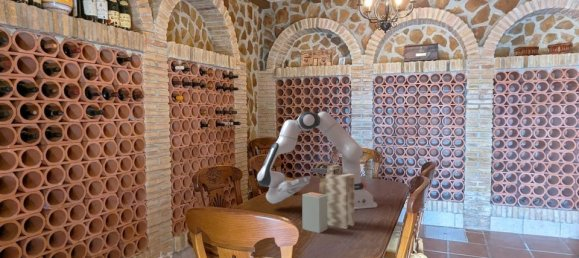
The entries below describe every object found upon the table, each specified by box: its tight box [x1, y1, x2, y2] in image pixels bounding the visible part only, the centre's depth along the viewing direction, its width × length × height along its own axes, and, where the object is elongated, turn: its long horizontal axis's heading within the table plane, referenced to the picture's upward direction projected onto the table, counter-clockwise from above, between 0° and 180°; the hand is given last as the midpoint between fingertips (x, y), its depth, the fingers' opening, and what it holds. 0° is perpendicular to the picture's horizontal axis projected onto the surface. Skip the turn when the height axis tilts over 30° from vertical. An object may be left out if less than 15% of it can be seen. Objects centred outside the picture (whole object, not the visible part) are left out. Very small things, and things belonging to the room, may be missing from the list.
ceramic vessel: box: [315, 161, 338, 195], centre depth 233 cm, size 18×19×25 cm
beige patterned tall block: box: [325, 164, 355, 230], centre depth 182 cm, size 12×8×30 cm, turn 51°
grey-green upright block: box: [301, 191, 328, 234], centre depth 176 cm, size 10×7×17 cm
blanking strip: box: [311, 167, 338, 174], centre depth 187 cm, size 14×3×2 cm, turn 51°
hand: (304, 178), depth 196 cm, fingers open, 8 cm apart
